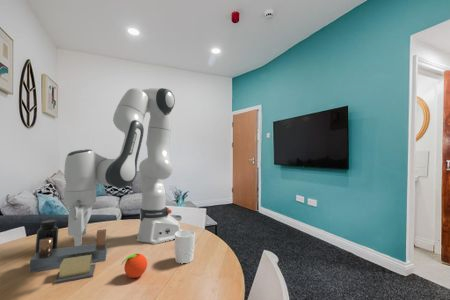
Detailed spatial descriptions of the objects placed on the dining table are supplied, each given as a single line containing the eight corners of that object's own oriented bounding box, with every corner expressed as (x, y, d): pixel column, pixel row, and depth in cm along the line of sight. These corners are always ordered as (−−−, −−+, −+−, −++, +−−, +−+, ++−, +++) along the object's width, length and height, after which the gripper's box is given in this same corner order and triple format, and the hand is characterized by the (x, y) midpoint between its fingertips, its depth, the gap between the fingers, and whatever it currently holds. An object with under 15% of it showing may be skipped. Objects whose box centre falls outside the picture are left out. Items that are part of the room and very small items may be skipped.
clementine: (122, 286, 65) (123, 261, 65) (118, 275, 70) (119, 253, 71) (149, 277, 69) (150, 255, 70) (143, 268, 75) (144, 247, 75)
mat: (95, 265, 76) (95, 263, 76) (92, 276, 69) (92, 274, 69) (60, 271, 72) (60, 269, 72) (53, 284, 65) (54, 282, 65)
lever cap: (91, 266, 75) (91, 254, 75) (89, 273, 70) (90, 260, 70) (63, 271, 71) (63, 258, 71) (59, 278, 67) (59, 265, 67)
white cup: (198, 257, 84) (198, 231, 85) (188, 266, 77) (189, 238, 78) (180, 254, 87) (181, 229, 88) (169, 262, 80) (170, 235, 80)
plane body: (106, 251, 87) (108, 226, 88) (105, 260, 80) (106, 233, 81) (37, 262, 78) (39, 234, 78) (29, 272, 71) (31, 241, 71)
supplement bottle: (44, 255, 83) (46, 224, 83) (30, 253, 84) (32, 222, 85) (61, 248, 90) (63, 219, 90) (48, 247, 91) (49, 218, 92)
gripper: (87, 203, 64) (87, 250, 64) (95, 192, 82) (95, 228, 82) (61, 205, 61) (61, 254, 61) (75, 193, 80) (75, 231, 79)
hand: (80, 239), depth 72 cm, fingers open, 8 cm apart
